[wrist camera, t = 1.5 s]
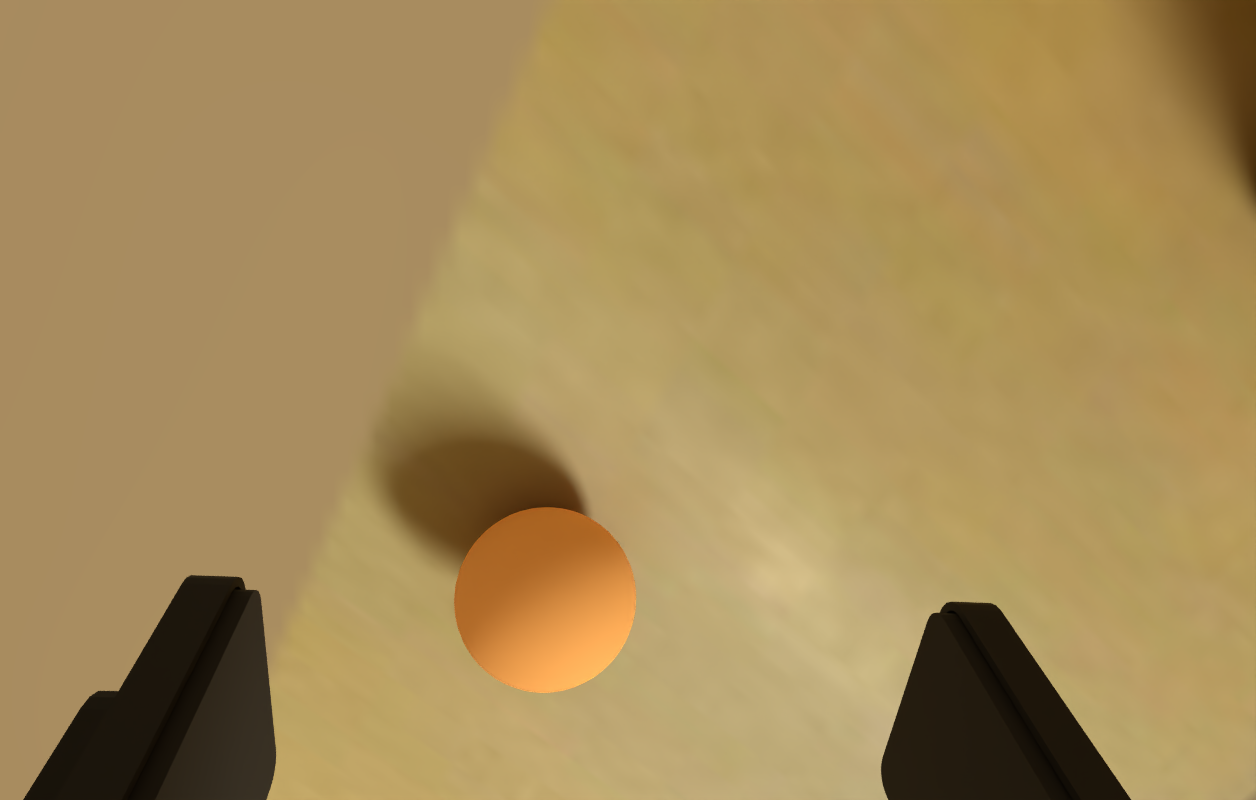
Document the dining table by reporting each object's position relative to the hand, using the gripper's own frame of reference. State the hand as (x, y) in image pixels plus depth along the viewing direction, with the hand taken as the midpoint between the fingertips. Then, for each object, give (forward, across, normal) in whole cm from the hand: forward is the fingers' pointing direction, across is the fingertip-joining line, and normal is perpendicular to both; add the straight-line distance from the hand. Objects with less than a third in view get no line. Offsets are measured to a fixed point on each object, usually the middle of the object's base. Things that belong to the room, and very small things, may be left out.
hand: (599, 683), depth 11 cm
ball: (+13, 0, +10) cm, 16 cm away
